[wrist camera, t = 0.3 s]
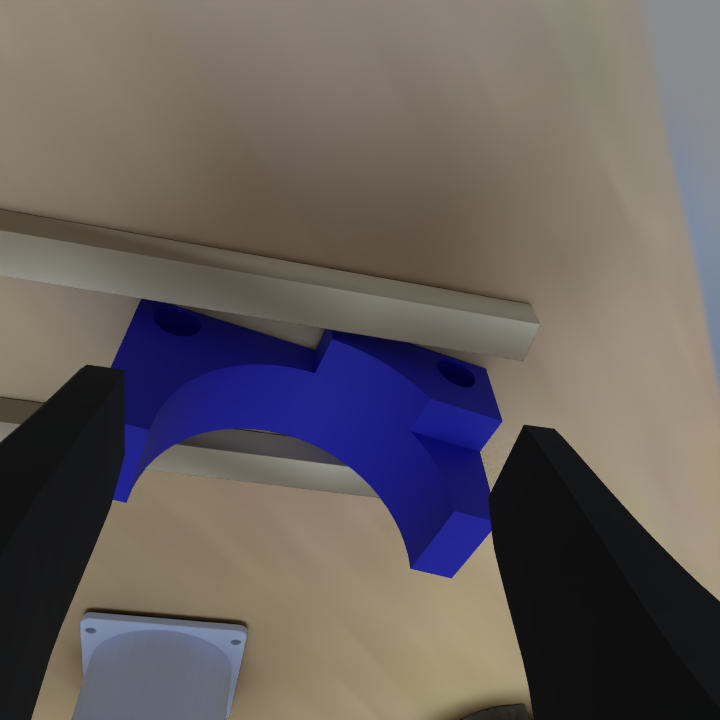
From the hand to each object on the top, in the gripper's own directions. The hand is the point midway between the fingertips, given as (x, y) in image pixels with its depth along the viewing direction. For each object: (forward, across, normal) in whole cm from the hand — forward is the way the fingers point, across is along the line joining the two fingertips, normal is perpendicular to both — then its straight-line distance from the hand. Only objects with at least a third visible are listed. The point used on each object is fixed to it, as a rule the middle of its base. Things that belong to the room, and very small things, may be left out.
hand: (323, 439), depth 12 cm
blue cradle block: (+10, 0, +6) cm, 12 cm away
